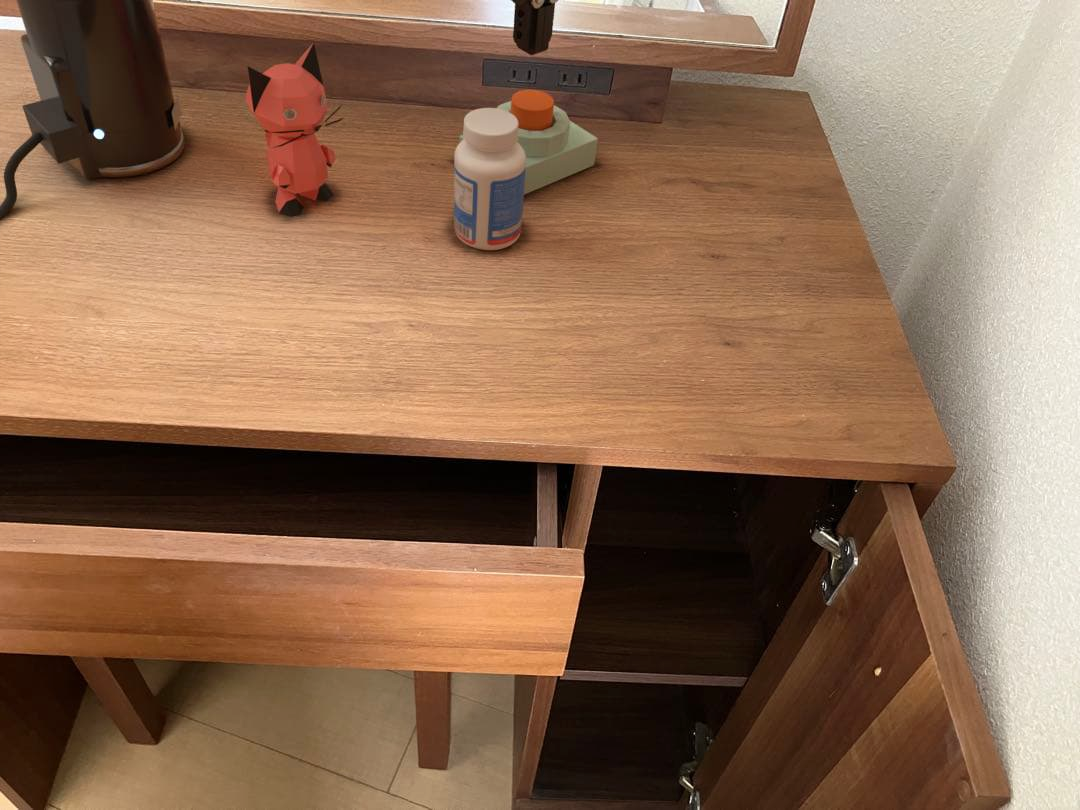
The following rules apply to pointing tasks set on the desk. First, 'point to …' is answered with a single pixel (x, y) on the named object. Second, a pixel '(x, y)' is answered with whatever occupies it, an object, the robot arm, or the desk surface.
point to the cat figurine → (293, 129)
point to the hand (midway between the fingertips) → (531, 49)
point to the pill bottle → (489, 180)
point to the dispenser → (554, 150)
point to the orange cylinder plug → (532, 109)
